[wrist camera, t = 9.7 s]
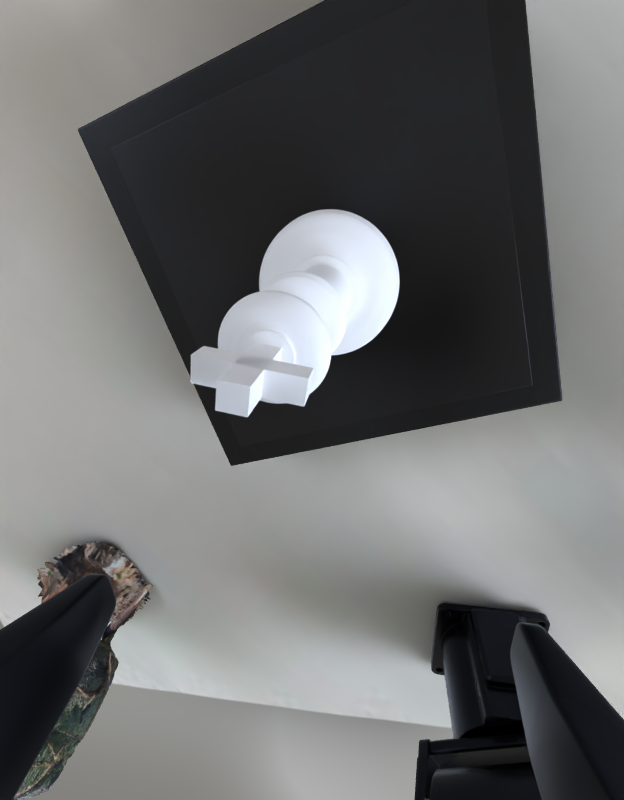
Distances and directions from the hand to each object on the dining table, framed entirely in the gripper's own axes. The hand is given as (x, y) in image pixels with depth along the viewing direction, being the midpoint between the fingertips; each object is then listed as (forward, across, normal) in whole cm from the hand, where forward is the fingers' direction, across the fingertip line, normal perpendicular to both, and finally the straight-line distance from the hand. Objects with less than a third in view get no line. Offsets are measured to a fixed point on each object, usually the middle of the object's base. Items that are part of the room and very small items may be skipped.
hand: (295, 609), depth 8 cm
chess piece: (+9, 0, -6) cm, 10 cm away
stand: (+13, 0, -6) cm, 14 cm away
